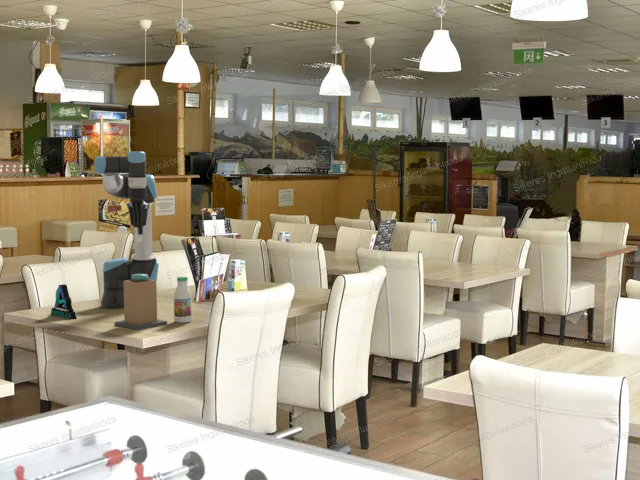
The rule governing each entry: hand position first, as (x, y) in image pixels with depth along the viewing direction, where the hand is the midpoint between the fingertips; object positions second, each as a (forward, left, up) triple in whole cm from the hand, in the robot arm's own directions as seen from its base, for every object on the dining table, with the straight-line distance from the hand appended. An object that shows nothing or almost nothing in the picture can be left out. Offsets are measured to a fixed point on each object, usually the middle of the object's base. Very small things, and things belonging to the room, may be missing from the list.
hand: (138, 242), depth 387 cm
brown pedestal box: (0, 0, -36) cm, 36 cm away
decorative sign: (-44, -11, -37) cm, 58 cm away
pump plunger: (+1, 0, -34) cm, 34 cm away
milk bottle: (+8, +17, -37) cm, 41 cm away
